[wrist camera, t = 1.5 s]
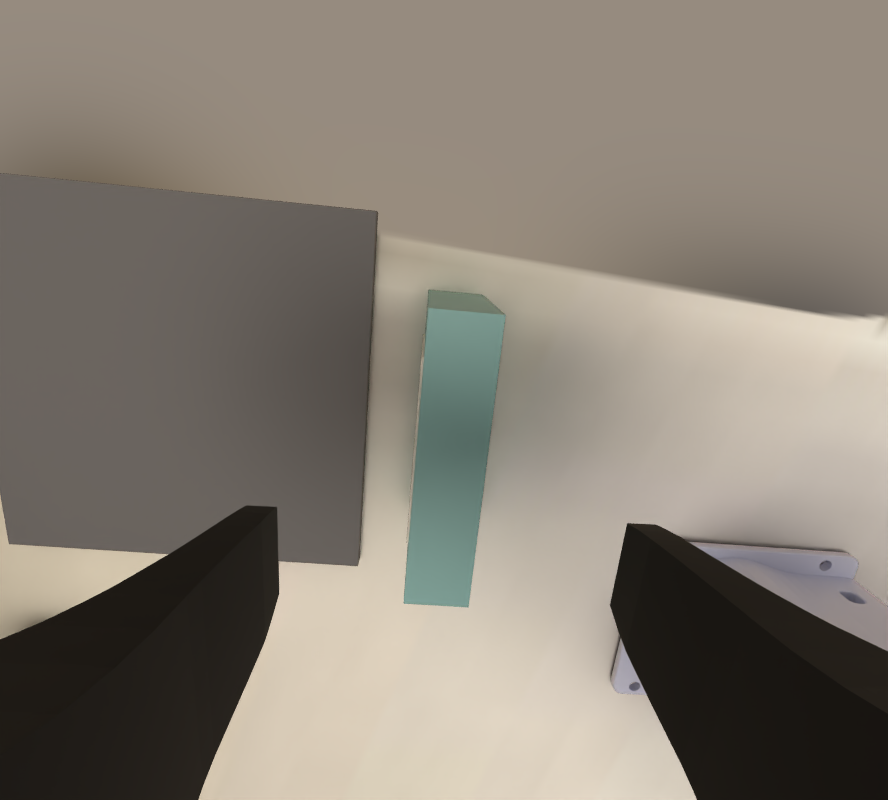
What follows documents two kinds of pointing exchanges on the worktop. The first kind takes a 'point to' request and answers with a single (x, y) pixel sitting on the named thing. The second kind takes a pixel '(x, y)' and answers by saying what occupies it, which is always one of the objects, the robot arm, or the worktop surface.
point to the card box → (451, 445)
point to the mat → (181, 366)
